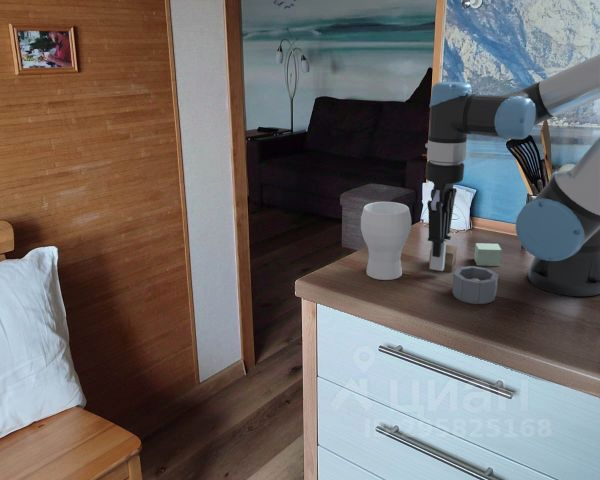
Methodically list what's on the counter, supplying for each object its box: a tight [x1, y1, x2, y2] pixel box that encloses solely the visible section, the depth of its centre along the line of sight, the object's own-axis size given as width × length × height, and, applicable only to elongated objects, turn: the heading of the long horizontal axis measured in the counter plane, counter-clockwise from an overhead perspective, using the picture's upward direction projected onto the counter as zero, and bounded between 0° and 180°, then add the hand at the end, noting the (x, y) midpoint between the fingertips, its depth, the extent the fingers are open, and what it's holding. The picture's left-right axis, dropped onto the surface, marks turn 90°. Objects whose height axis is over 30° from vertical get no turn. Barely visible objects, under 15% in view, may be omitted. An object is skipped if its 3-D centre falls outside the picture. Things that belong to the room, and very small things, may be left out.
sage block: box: [473, 242, 503, 267], centre depth 131 cm, size 5×4×4 cm
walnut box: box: [428, 244, 458, 273], centre depth 129 cm, size 5×5×4 cm
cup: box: [360, 201, 412, 281], centre depth 124 cm, size 11×11×15 cm
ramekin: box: [451, 265, 499, 305], centre depth 115 cm, size 8×8×5 cm
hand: (436, 268), depth 125 cm, fingers closed
